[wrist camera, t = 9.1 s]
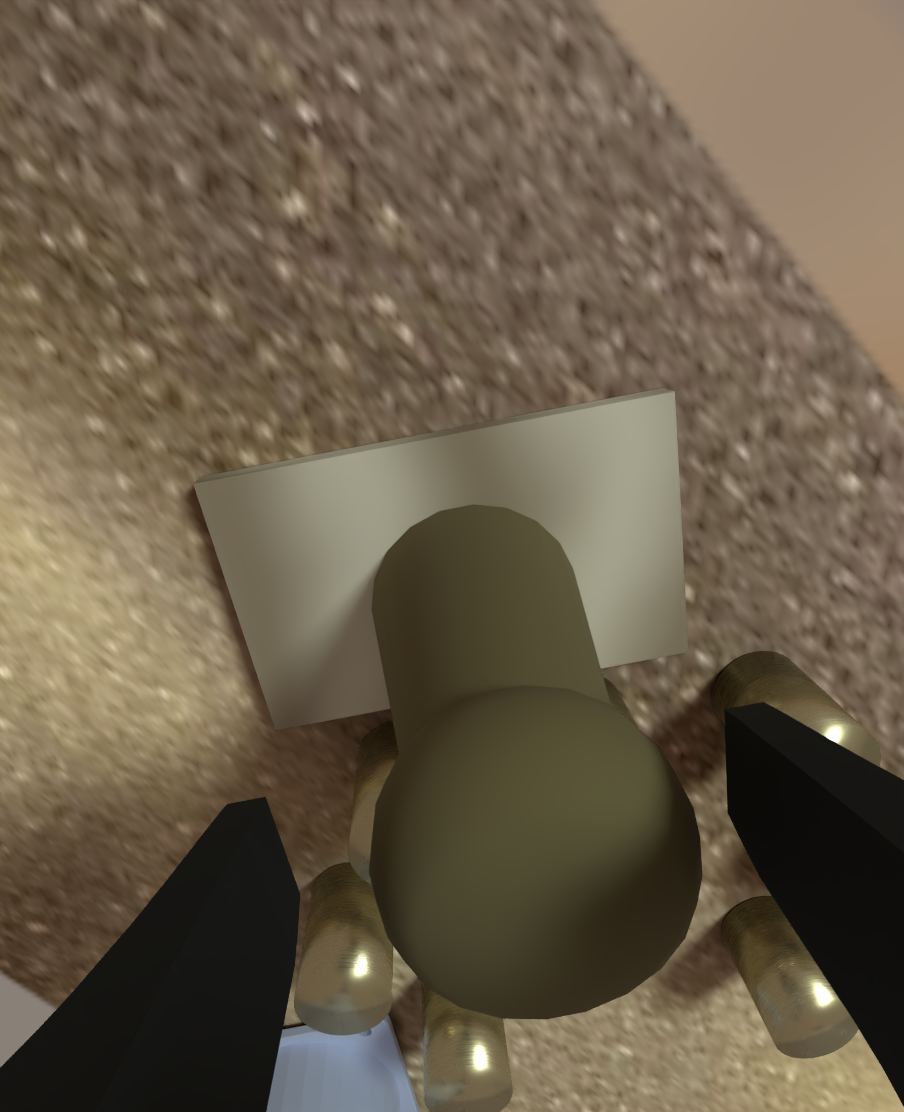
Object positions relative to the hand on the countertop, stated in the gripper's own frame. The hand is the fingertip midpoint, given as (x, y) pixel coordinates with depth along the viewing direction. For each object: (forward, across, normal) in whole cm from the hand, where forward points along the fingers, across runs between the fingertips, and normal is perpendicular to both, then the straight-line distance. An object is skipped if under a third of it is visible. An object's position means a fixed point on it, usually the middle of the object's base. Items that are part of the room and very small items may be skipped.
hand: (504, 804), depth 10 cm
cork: (+10, 0, +1) cm, 10 cm away
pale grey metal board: (+10, 0, 0) cm, 10 cm away
